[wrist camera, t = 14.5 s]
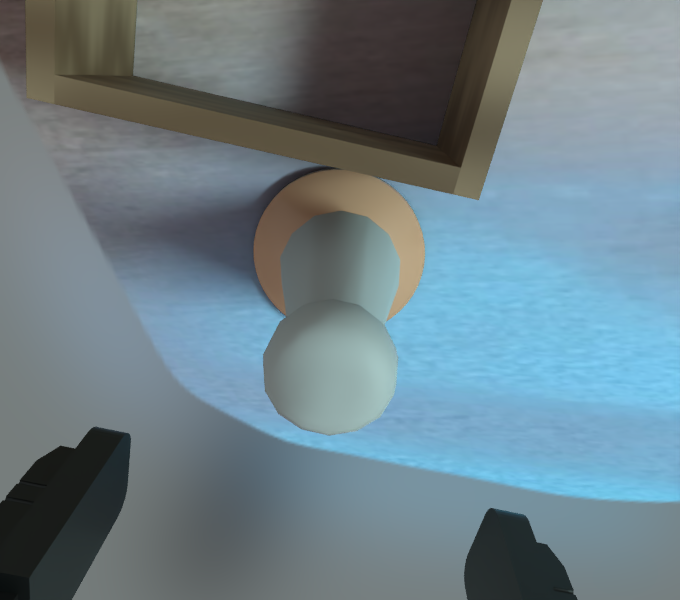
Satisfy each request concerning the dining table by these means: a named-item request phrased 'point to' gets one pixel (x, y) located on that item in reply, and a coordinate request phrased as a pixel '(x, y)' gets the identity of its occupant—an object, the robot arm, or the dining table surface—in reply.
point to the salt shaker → (334, 325)
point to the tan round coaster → (330, 196)
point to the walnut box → (273, 124)
